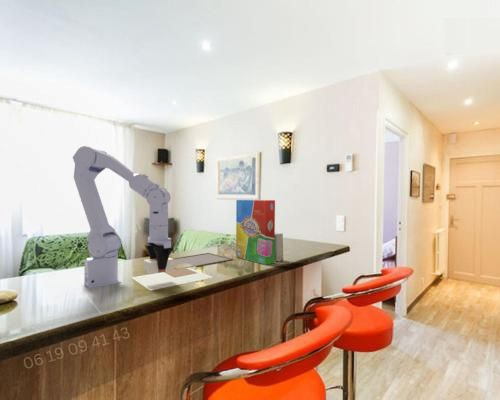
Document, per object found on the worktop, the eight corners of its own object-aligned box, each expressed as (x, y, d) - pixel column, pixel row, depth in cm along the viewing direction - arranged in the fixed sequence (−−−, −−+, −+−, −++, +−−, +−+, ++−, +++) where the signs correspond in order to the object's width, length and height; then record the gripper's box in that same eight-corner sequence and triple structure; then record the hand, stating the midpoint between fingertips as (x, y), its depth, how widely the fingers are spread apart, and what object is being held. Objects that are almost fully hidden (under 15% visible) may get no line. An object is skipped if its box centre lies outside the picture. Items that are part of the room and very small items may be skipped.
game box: (235, 257, 133) (235, 199, 133) (244, 255, 136) (244, 199, 136) (266, 265, 117) (266, 199, 117) (275, 263, 120) (275, 199, 120)
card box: (149, 274, 86) (149, 262, 86) (143, 271, 90) (143, 259, 90) (173, 270, 92) (173, 259, 92) (167, 267, 95) (167, 256, 95)
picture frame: (208, 254, 141) (154, 263, 122) (208, 252, 141) (154, 261, 122) (232, 261, 127) (175, 272, 108) (232, 258, 127) (175, 269, 108)
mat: (150, 291, 83) (150, 290, 83) (130, 278, 97) (130, 277, 97) (213, 278, 97) (213, 276, 97) (188, 268, 111) (188, 267, 111)
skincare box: (283, 260, 125) (283, 233, 125) (276, 262, 123) (276, 234, 123) (273, 258, 130) (273, 232, 130) (266, 259, 127) (266, 232, 127)
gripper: (180, 226, 88) (180, 269, 88) (161, 223, 99) (161, 261, 99) (158, 227, 83) (158, 273, 83) (141, 224, 94) (141, 264, 95)
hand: (158, 267), depth 91 cm, fingers closed on card box, 5 cm apart
